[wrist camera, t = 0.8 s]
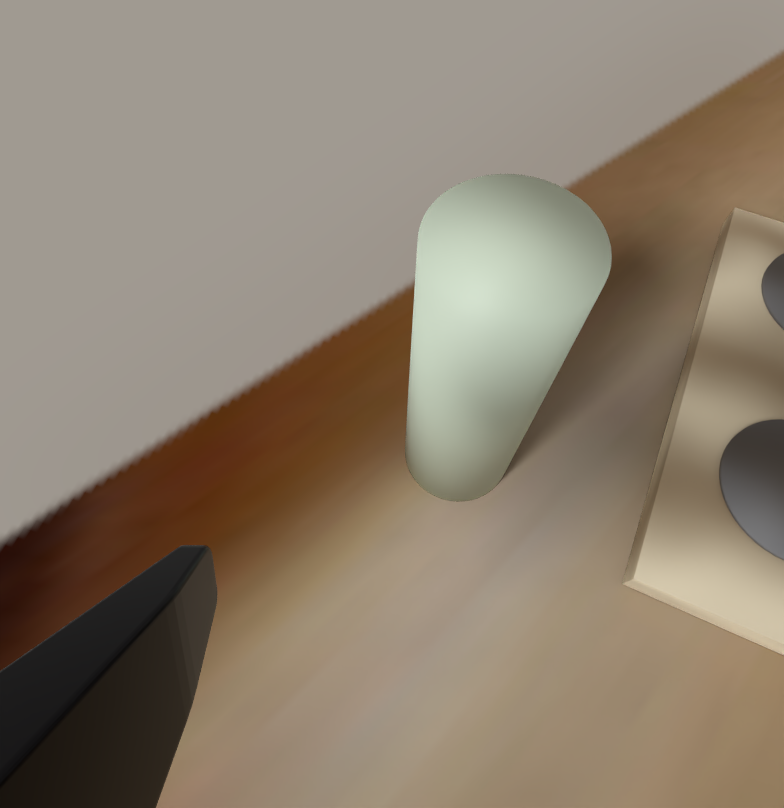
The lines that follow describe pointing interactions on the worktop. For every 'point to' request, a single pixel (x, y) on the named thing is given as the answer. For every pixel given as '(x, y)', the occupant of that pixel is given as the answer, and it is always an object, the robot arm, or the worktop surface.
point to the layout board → (725, 450)
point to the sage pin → (494, 322)
